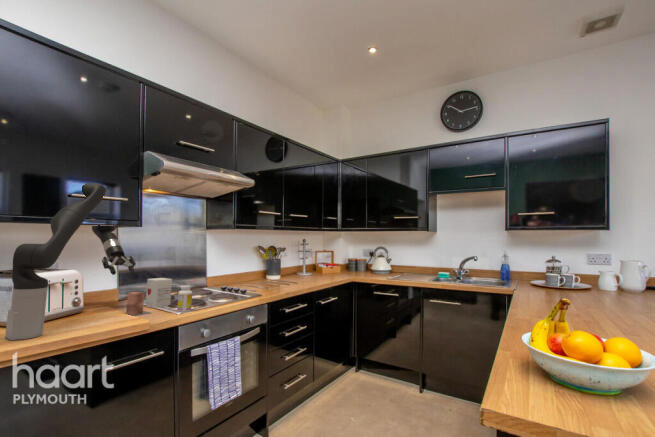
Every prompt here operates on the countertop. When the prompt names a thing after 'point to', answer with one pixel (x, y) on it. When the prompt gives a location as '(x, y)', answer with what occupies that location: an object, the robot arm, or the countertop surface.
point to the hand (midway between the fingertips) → (123, 273)
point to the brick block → (135, 303)
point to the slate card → (141, 314)
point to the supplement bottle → (184, 299)
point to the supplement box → (158, 292)
